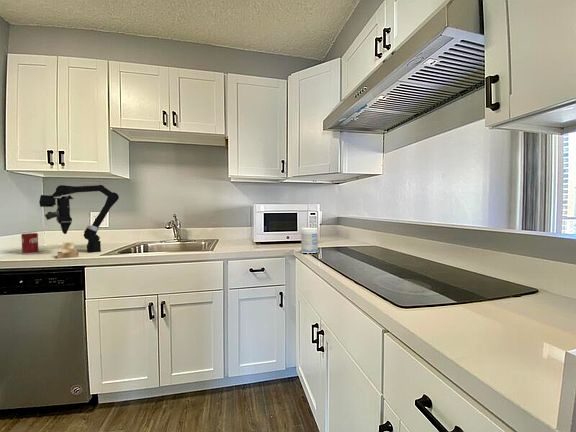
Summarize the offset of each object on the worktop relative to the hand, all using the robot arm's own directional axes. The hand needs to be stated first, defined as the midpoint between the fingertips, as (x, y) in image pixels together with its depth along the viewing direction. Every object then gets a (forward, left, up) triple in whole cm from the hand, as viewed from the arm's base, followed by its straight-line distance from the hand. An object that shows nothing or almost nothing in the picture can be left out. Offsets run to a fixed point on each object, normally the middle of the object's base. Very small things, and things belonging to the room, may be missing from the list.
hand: (64, 233), depth 163 cm
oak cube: (-1, +13, -10) cm, 16 cm away
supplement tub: (-110, +93, -12) cm, 145 cm away
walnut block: (-1, +13, -13) cm, 18 cm away
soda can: (+16, -16, -12) cm, 26 cm away
